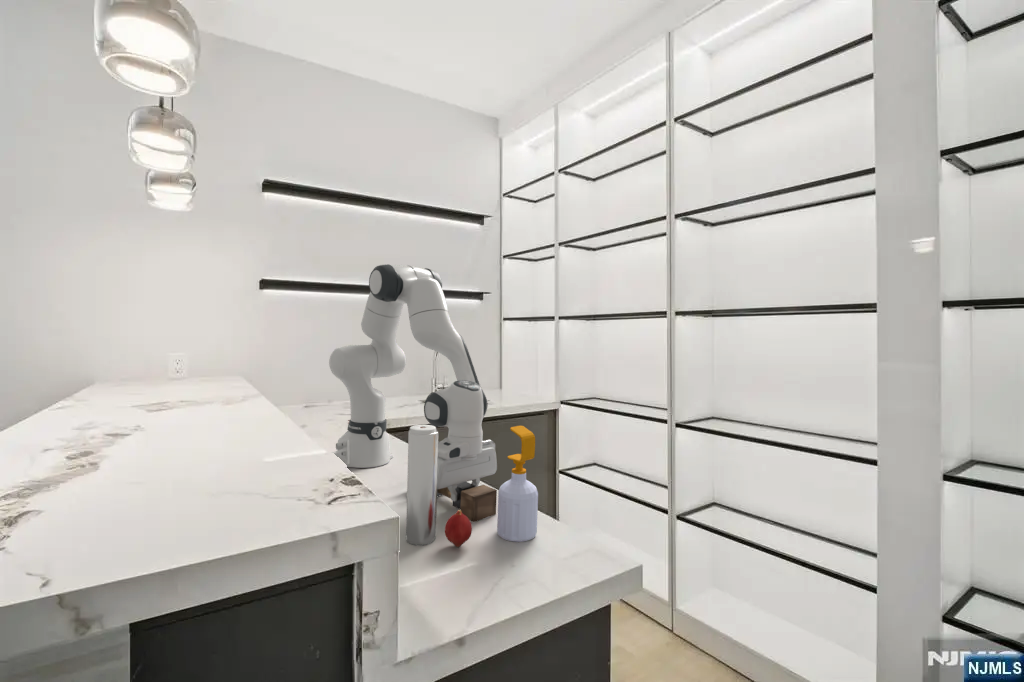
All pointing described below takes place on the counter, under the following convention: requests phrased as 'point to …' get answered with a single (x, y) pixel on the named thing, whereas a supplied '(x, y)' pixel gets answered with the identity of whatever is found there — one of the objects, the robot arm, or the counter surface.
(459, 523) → the onion
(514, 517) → the soap bottle
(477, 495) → the socket
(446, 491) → the hammer
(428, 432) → the silver metal cylinder
